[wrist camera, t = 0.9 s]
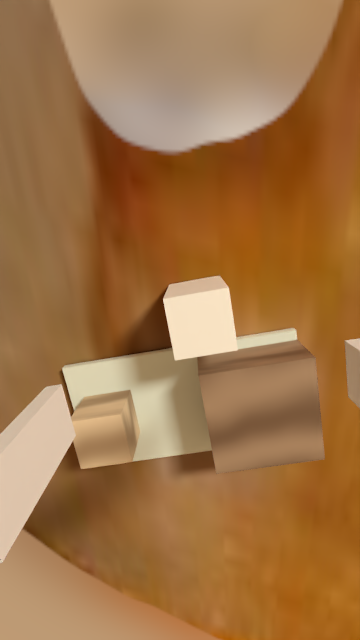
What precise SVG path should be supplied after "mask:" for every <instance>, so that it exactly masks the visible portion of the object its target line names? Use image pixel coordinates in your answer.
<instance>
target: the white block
mask: <svg viewBox="0 0 360 640" xmlns="http://www.w3.org/2000/svg"><path fill="white" fill-rule="evenodd" d="M163 303H164V308H165V313H166V318H167V323H168V328H169V333H170V338H171V343H172V348H173V353H174V358H175V360H181V359H188V358H194V357H200V356H206V355H212V354H218V353H225V352H231V351H237V350H238V347H237V340H236V333H235V327H234V320H233V313H232V307H231V300H230V293H229V287H228V286H227V285H226V283H225V282H224V281H223V279H222V278H221V277H220V276H214V277H208V278H203V279H197V280H192V281H186V282H181V283H175V284H169V286H168V289H167V291H166V293H165V295H164V298H163Z"/></svg>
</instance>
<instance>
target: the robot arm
mask: <svg viewBox="0 0 360 640" xmlns="http://www.w3.org/2000/svg"><path fill="white" fill-rule="evenodd" d="M345 352H346V367H347V383H348V397H349V398H350V399H351V400H352V401H353V402H354V403H355V404H356V405H357V406H358V407H359V408H360V338H359V339H352V340H346V341H345ZM75 436H76V434H75V430H74V427H73V423H72V420H71V416H70V413H69V409H68V406H67V402H66V398H65V395H64V391H63V388H62V384H61V385H54V386H48V387H45V388H44V389H43V390H42V391H41V393H40V394H39V395H38V396H37V397H36V398H35V399H34V400H33V401H32V402H31V403H30V404H29V405H28V406H27V407H26V408H25V409H24V410H23V411H22V412H21V413H20V414H19V415H18V416H17V417H16V418H15V419H14V421H13V422H12V423H11V424H10V425H9V426H8V427H7V428H6V429H5V430H4V431H3V432H2V433H1V434H0V563H3V561H4V559H5V557H6V556H7V553H8V552H9V550H10V549H11V547H12V545H13V543H14V542H15V540H16V538H17V537H18V535H19V533H20V531H21V530H22V528H23V526H24V525H25V523H26V521H27V519H28V518H29V516H30V514H31V512H32V511H33V509H34V507H35V505H36V504H37V502H38V500H39V499H40V497H41V495H42V493H43V492H44V490H45V488H46V486H47V485H48V483H49V481H50V480H51V478H52V476H53V474H54V473H55V471H56V469H57V467H58V466H59V464H60V462H61V460H62V459H63V457H64V455H65V454H66V452H67V450H68V448H69V447H70V445H71V443H72V441H73V440H74V438H75Z"/></svg>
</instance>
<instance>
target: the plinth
mask: <svg viewBox="0 0 360 640" xmlns="http://www.w3.org/2000/svg"><path fill="white" fill-rule="evenodd" d="M197 360H198V376H199V382H200V387H201V393H202V398H203V404H204V409H205V415H206V420H207V426H208V431H209V437H210V442H211V448H212V453H213V459H214V464H215V470H216V474H219V473H227V472H234V471H241V470H249V469H256V468H264V467H271V466H278V465H286V464H293V463H301V462H308V461H315V460H323V459H325V456H324V445H323V434H322V424H321V413H320V402H319V391H318V381H317V370H316V359H315V357H314V356H313V355H312V354H311V353H310V352H309V351H308V350H307V349H306V348H305V347H304V346H303V345H302V344H301V343H300V342H299V341H298V340H292V341H286V342H280V343H274V344H268V345H261V346H255V347H249V348H243V349H238V350H237V351H231V352H225V353H218V354H212V355H206V356H200V357H197Z"/></svg>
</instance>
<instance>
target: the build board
mask: <svg viewBox="0 0 360 640" xmlns="http://www.w3.org/2000/svg"><path fill="white" fill-rule="evenodd" d="M236 340H237V347H238V349H243V348H249V347H255V346H261V345H268V344H274V343H280V342H286V341H292V340H297V334H296V330H295V329H294V328H290V329H284V330H278V331H272V332H266V333H260V334H254V335H248V336H242V337H236ZM62 370H63V374H64V377H65V381H66V384H67V388H68V391H69V395H70V398H71V402H72V405H73V409H74V412H75V410H76V409H77V407H78V406H79V404H80V403H81V401H82V400H83V398H84V397H87V396H93V395H99V394H106V393H112V392H118V391H125V390H131V394H132V398H133V403H134V407H135V411H136V415H137V420H138V424H139V428H140V435H139V439H138V443H137V447H136V451H135V454H134V458H133V461H140V460H147V459H154V458H162V457H169V456H176V455H183V454H190V453H197V452H204V451H211V450H212V448H211V442H210V437H209V431H208V426H207V420H206V415H205V409H204V404H203V398H202V393H201V387H200V382H199V376H198V360H197V357H194V358H188V359H181V360H175V358H174V353H173V348H169V349H163V350H157V351H151V352H144V353H138V354H132V355H126V356H120V357H114V358H108V359H102V360H96V361H90V362H84V363H78V364H71V365H65V366H64V367H63V368H62Z"/></svg>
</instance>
